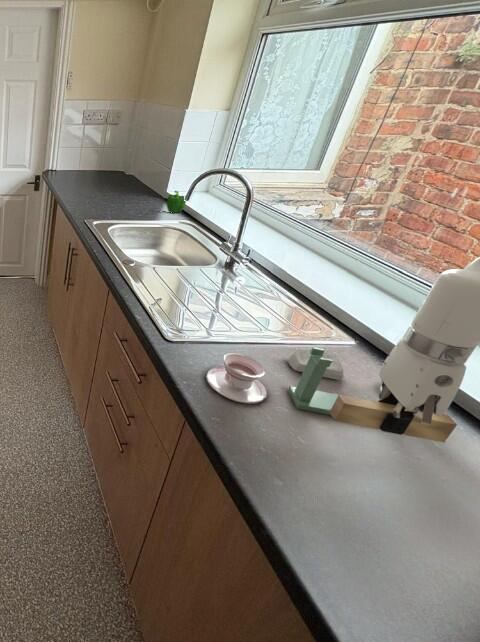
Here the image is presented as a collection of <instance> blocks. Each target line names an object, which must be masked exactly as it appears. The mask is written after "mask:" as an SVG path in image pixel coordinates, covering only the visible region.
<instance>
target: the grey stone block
mask: <svg viewBox="0 0 480 642" xmlns="http://www.w3.org/2000/svg"><path fill="white" fill-rule="evenodd" d="M311 350H312V348H311V349H310V348H303V347H297V348H296V349H295V350H294V351H293V352H292V353H291V354H290V356H289V358H288V359H287V363H288V364H289V366H290V367H291V368H292V370H294V371H297V372H301V373H303V372H304V369H305V367H306V365H307V363H308V361H309V358H310V356H311V354H310V352H311ZM314 356H316V355H314ZM320 357H322V358H325V359H331V360H332V363H331V365H330V367H327V368H326V370H325V372H324V375H323V377H322V378H327V379H332V380H337V381H340V380H342V379H343V377H345V373H344V367H343V365H342V363H341V361H340V355H339V354H338V353H336V352H330V351H326V350H325V351H324V353H323V355H322V356H320Z"/></svg>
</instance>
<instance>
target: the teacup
mask: <svg viewBox="0 0 480 642" xmlns="http://www.w3.org/2000/svg"><path fill="white" fill-rule="evenodd" d="M222 360H223V365H224V366H215V367H212V368H211V369H209V370H208V371H207V373H206V376H205V378H206V382H207V383H208V385H209V386H210V387H211V389H213V390H214V391H215V392H217V393H218V394H219V395H221V396H222V397H224V398H227V399H229V400H231V401H234V402H237V403H241V404H250V405H251V404H252V405H253V404H258V403H262V402H263V401H264V400H265V399H266V398H267V392H268V391H267V389H266V386H264V384H263V383H262V381H260V380H259V378H262V377H264V375H265V374H266V370H265V368H264V366H263V365H262V364H261V363H260V362H258V361H257V360H256V359H254V358H252V357H250V356H248V355H246V354H242V353H238V352H228V353H225V354H224V355H223V359H222Z"/></svg>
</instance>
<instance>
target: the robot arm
mask: <svg viewBox="0 0 480 642" xmlns="http://www.w3.org/2000/svg"><path fill="white" fill-rule="evenodd" d="M479 344H480V256H479V257H477V258H476V259H474V260H472V261H471V262H470V263H469V264H467V265H466V266H465V267H464V268H452V269H447V270H444V271H443V272H441V273H439V274H438V277H437V278H436V279H435V281H434V283H433V284H432V286H431V288H430V290H429V291H428V293H427V295H426V296H425V298H424V299H423V302H422V303H421V305H420V307H419V308H418V310H417V312H416V314H415V316H414V317H413V319H412V321H411V323H410V324H409V326H408V327H407V330H406V331H405V333H404V335H403V336H402V338H400V340H399V341H398V342H397V343H396V345H395V346H394V347H393V348H392V350H391V351H390V352H389V354H388V355H387V356H386V358H385V360H384V362H383V363H382V365H381V367H380V370H379V373H378V374H379V375H378V376H379V378H380V380H381V386H382V391H379V392H380V393H379V394H378V398H379V400H378V401H377V402H382V403H387V404H392V405H396V407H395V409H394V411H393V413H388V415H387V416H386V418H385V420H384V421H383V423H382V424H381V426H380V429H381V430H380V431H381V432H385V433H388V434H389V433H390V434H394V435H400V436H402V435H403V434H404V432H405V431H406V429H407V428H408V426H409V424H410V423H411V421H416V422H418V423H421V424H427V425H430V424H431V421H432V415H433V413H434V414H435V415H438V416H441V415H443V414H446V412H447V410H448V409H449V408H450V405H451V404H452V403H453V401H454V399H455V397H456V395H457V393H458V391H459V389H460V388H461V385H462V383H463V380H464V377H465V374H466V370H467V366H466V365H465V364H466V363H467V361H468V360H469V358H470V357H471V355H472V354H473V353H474V351H475V349H476V348H477V347H478V345H479ZM406 408H407V409H408V410H411V411H404V410H405V409H406Z"/></svg>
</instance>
